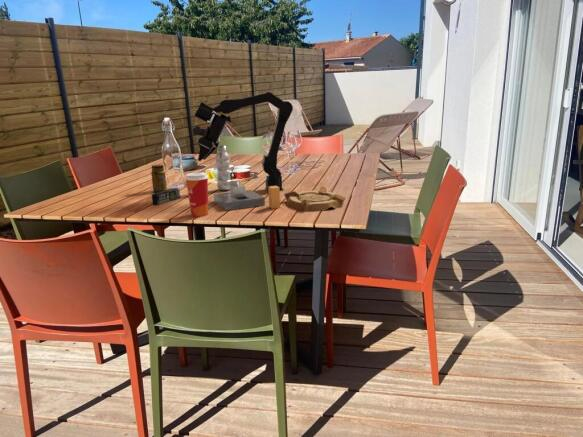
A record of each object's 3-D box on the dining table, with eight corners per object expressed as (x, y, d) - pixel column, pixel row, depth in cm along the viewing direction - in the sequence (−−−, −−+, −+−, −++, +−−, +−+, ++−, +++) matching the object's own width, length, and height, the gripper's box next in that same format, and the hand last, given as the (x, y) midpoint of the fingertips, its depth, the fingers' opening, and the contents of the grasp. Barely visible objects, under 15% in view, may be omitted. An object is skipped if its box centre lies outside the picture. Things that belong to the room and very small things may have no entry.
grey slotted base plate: (251, 196, 185) (250, 178, 183) (265, 205, 171) (264, 185, 169) (214, 201, 178) (212, 182, 176) (225, 210, 164) (224, 189, 162)
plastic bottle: (229, 191, 195) (226, 146, 190) (215, 191, 197) (211, 146, 191) (234, 188, 201) (231, 145, 196) (220, 188, 203) (217, 145, 197)
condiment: (167, 189, 204) (164, 163, 201) (169, 192, 196) (166, 166, 193) (151, 190, 202) (148, 164, 198) (152, 194, 194) (149, 167, 191)
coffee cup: (190, 212, 163) (186, 172, 159) (212, 211, 164) (209, 171, 160) (186, 218, 155) (182, 176, 151) (210, 217, 156) (206, 175, 152)
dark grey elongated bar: (154, 194, 173) (182, 186, 185) (149, 193, 174) (177, 185, 186) (156, 206, 174) (183, 197, 186) (151, 205, 176) (178, 197, 188)
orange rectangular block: (276, 206, 169) (276, 185, 167) (280, 207, 166) (279, 187, 164) (269, 207, 168) (268, 186, 166) (272, 208, 165) (271, 188, 163)
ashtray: (285, 197, 184) (284, 185, 182) (341, 196, 183) (342, 185, 181) (282, 212, 161) (282, 199, 160) (347, 212, 160) (347, 198, 159)
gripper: (203, 119, 195) (189, 150, 197) (194, 118, 176) (178, 152, 179) (226, 130, 196) (211, 161, 198) (219, 130, 177) (203, 165, 180)
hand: (201, 160), depth 189 cm, fingers open, 9 cm apart
